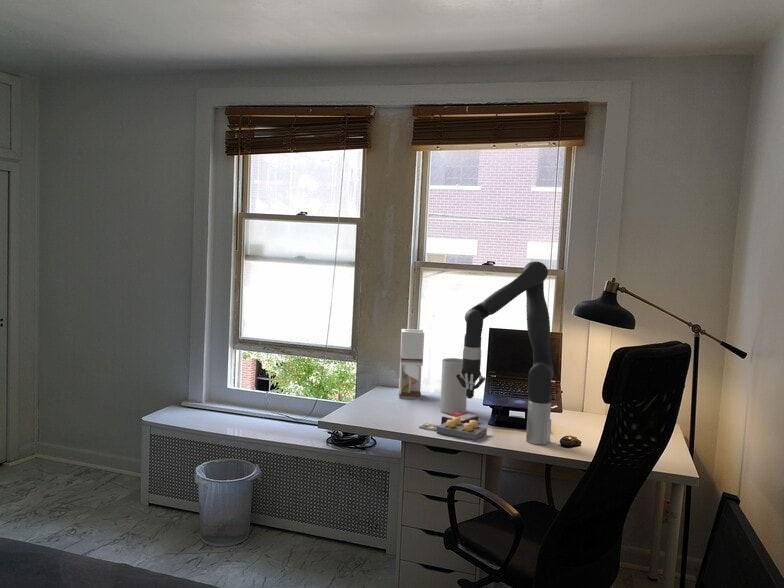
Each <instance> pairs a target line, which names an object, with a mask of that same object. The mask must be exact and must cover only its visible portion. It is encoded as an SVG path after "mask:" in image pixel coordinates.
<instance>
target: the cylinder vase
mask: <svg viewBox="0 0 784 588" xmlns="http://www.w3.org/2000/svg"><path fill="white" fill-rule="evenodd" d="M441 363H442V364H441V383H440V384H441V385H440V386H441V387H440V401H439V402H440V403H439V405H440V407H439V410H440V411H441V412H442V413H444V414H447V415H448V414H451V413H455V412H463V413H467V412H466V411H467V399H468V398H467V396H466V388H465V387H462V385H461V383H460V382H459V380H458V379H457V377H456V375H458V374H460V373H461V371H462V364H463V358H456V357H453V358H452V357H451V358H449V357H448V358H443V359H442V362H441ZM463 379H464V377H463ZM464 380H465V379H464Z"/></svg>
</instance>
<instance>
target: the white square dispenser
mask: <svg viewBox="0 0 784 588" xmlns="http://www.w3.org/2000/svg"><path fill="white" fill-rule="evenodd" d="M400 331H401V334H400V336H401V337H400V357H399V359H400V360H399V362H400V363H399V378H398V379H399V380H398V381H399V382H398V399H399V400H400V399H401V400H419V401H421V400H422V393H421V388H422V387H421V385H422V367H423V365H424V344H425V332H424V329H415V328H414V329H412V328H401V330H400Z"/></svg>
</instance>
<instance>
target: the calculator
mask: <svg viewBox="0 0 784 588" xmlns="http://www.w3.org/2000/svg"><path fill="white" fill-rule="evenodd" d="M453 417H460V418H461V423H469V421H470V420H476V421H478V422H479V416H478V415H476V414H472V413H467V412H465V413H463V412H455V413H451V414H447V415H446V414H445V415H443V416H441V423H440V425H441V424H443V423H445V422H447V420H452V418H453Z"/></svg>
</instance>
